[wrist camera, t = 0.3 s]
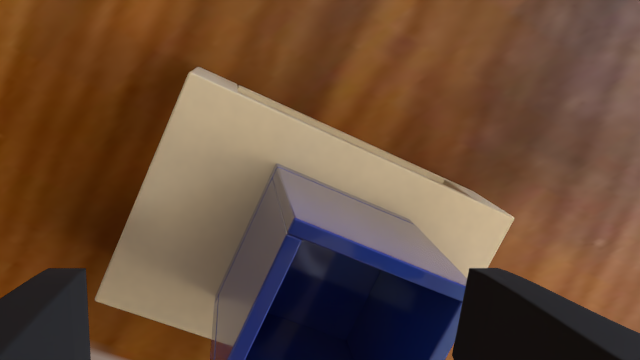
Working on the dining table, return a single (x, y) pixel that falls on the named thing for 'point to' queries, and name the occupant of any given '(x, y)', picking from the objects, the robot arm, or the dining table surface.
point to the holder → (333, 282)
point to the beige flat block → (245, 191)
